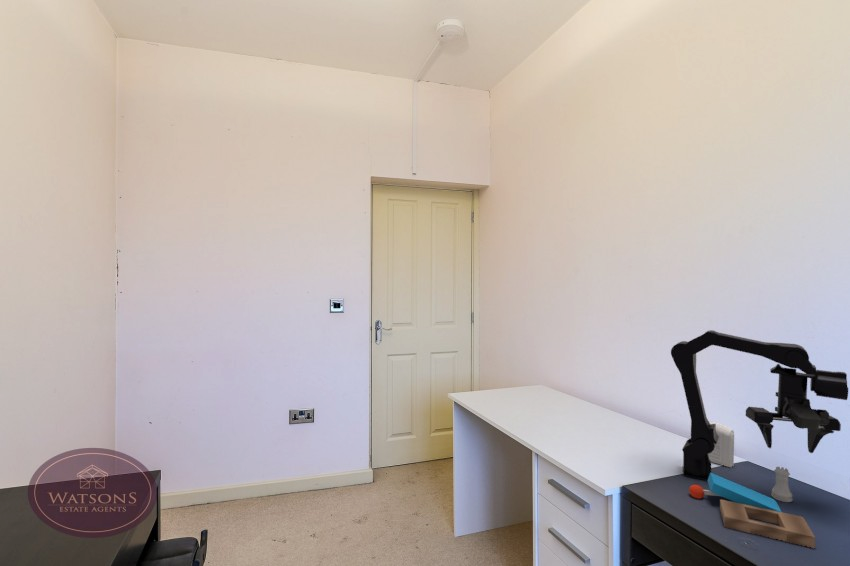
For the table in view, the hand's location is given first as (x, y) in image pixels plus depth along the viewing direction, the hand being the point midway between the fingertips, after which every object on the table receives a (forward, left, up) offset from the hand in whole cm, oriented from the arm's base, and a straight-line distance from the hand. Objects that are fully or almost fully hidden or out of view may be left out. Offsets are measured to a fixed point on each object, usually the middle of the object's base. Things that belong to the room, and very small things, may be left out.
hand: (789, 450), depth 112 cm
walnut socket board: (-9, -20, -13) cm, 26 cm away
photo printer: (-15, +18, -13) cm, 27 cm away
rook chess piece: (-2, -1, -13) cm, 13 cm away
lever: (-14, -11, -13) cm, 22 cm away
